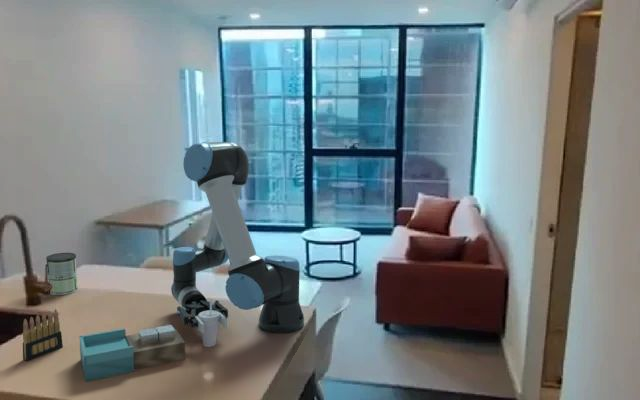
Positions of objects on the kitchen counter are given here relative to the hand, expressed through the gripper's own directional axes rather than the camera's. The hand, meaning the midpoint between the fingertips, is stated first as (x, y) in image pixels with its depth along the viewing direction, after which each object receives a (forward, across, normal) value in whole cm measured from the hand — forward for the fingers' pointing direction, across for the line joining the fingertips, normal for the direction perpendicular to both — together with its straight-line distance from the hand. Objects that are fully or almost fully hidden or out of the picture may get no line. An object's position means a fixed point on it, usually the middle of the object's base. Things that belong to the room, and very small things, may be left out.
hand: (214, 326), depth 147 cm
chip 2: (-5, +13, -3) cm, 14 cm away
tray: (-5, +29, -8) cm, 30 cm away
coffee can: (-77, +36, -8) cm, 85 cm away
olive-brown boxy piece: (-5, +16, -8) cm, 18 cm away
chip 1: (-5, +18, -3) cm, 19 cm away
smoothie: (-5, 0, -8) cm, 9 cm away
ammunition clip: (-21, +44, -8) cm, 49 cm away
